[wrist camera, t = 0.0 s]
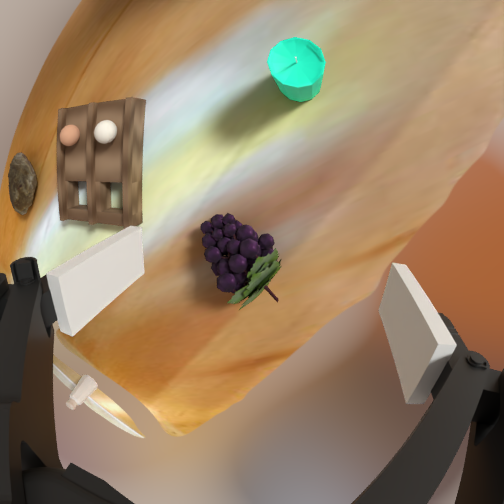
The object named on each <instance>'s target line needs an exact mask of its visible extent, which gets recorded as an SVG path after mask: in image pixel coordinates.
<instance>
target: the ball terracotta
mask: <svg viewBox="0 0 504 504" xmlns="http://www.w3.org/2000/svg"><path fill="white" fill-rule="evenodd" d="M79 137H80V131H79V129H78V127H77V126H75V125H67V126H65V127H64V128H63V129H62V130H61V132H60V141H61V143H62V144H64V145H65V146H72V145H74V144H75V143H76V142H77V141H78V140H79Z"/></svg>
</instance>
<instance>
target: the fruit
mask: <svg viewBox="0 0 504 504" xmlns="http://www.w3.org/2000/svg"><path fill="white" fill-rule="evenodd" d="M211 222H212V223H210V222H208V221H205V222H204V223H202V224H201V230H202V232H203V233H204V234H206V235H205V236H204V237H203V238H202V243H203V246H204V247H205V248H207V249H206V250H205V253H204V255H205V258H206V261H208V262H212V267H211V269H212V270H213V272H214V273H215V275H216V276H219V277H218V278H217V288H218V289H220V290H221V291H222V292H232V293H234V294H236V295H234V296H232V299H231V300H230V301H228V302H227V303H232V304H233V303H234V302H235V303H234V304H236V303H238V302H239V301H241V300H242V299H243V300H244V299H245V298H247V297H248V296H249V297H248V298H249V299H248V300H246V301H245V302H244V303H243V304H244V305H243V304H242V307H241V308H243V307H244V306H246V305H247V304H249V303H250V302H252V301H253V300H254V299H255V298H256V297H257V296H258V295H259V294H260V293H261V292H262V291H263V290H264V289H265V290H266V291H268V292H269V294H270V295H271V296H272V297H273V298H274V299H275V300H276V301H277V302H278V298H277V297H276V296H275V295H274V294H273V293H272V291H271V290H270V289H269V288H268V287H267V286H268V284H269V282H270V281H271V279H272V278H273V277H274V276H275V274H276V273H277V271H278V270H279V269H280V267H281V266H280V265H279V264H280V261H281V260H280V261H279V262H278V261H277V258H278V257H279V256H278V254H277V253H278V251H277V250H276V248H275V250H273V247H272V246H273V245H274V240H273V237H272V236H270V235H269V234H262V235H261V236H260V237H259V239H258V235H257V233H256V232H255V231H254V230H253V228H252V227H251V226H249V225H242V224H241V223H240V222H239V221H237V220H235V218H234V216H233V215H231V214H228V213H227V214H226V215H225V216H224V217H223V215H218V214H216V215H215V216H213V217H212V218H211ZM224 236H225V237H224ZM257 242H258V243H257ZM227 254H228V256H227ZM224 255H226V256H224ZM279 266H280V267H279ZM239 303H240V302H239ZM241 308H240V309H241ZM240 309H239V310H240Z"/></svg>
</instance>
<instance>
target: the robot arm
mask: <svg viewBox="0 0 504 504" xmlns="http://www.w3.org/2000/svg"><path fill="white" fill-rule="evenodd" d="M10 267H11V272H12V276H13V280H14V284H8V282H7V278H6V275H5V274H4V273H0V504H134V503H133V502H131V501H130V500H128V499H127V498H126V497H125V496H123V495H122V494H120V493H119V492H118V491H116V490H115V489H114V488H113V487H111V486H110V485H109V484H108V483H107V482H105V481H104V480H102V479H100V478H98V477H96V476H94V475H93V474H91V473H89V472H87V471H85V470H83V469H81V468H80V467H78V466H76V465H74V464H73V463H70V465H69V466H68V467H67V469H63V467H62V464H61V462H60V460H59V456H58V450H57V441H56V432H55V420H54V404H53V344H54V329H53V325H52V324H53V323H54V322H55V321H56V320H57V321H58V324H59V328H60V331H61V332H63V333H65V334H68V335H70V336H72V337H73V336H74V335H75V334H76V333H77V332H78V331H79V330H81V329H82V328H83V327H84V326H85V325H86V324H87V323H88V322H89V321H90V320H91V319H93V318H94V317H95V316H96V315H97V314H98V313H99V312H100V311H101V310H103V309H104V308H105V307H106V306H107V305H108V304H109V303H110V302H112V301H113V300H114V299H115V298H116V297H117V296H118V295H120V294H121V293H122V292H123V291H124V290H125V289H126V288H128V287H129V286H130V285H131V284H132V283H133V282H135V281H136V280H137V279H138V278H139V277H140V276H142V275H143V274H144V260H143V241H142V227H137V226H129V227H127V228H125V229H123V230H121V231H120V232H118V233H116V234H114V235H112V236H110V237H108V238H107V239H105V240H103V241H101V242H99V243H98V244H96V245H94V246H92V247H90V248H89V249H87V250H85V251H83V252H82V253H80V254H78V255H76V256H75V257H73V258H71V259H70V260H68V261H66V262H64V263H63V264H61V265H59V266H58V267H56V268H54V269H53V270H51V271H49V272H48V273H46V275H45V276H43V277H42V278H40V274H39V269H38V264H37V259H36V258H33V257H25V258H20V259H18V260H16V261H14V262H12V263H11V265H10ZM379 313H380V316H381V319H382V322H383V325H384V328H385V331H386V334H387V338H388V341H389V344H390V347H391V350H392V354H393V357H394V361H395V364H396V368H397V371H398V375H399V378H400V382H401V386H402V389H403V393H404V397H405V401H406V404H424V403H425V401H426V399H427V398H428V396H429V395H430V393H432V396H433V399H434V400H433V402H432V404H431V405H430V407H429V408H428V410H427V411H426V413H425V414H424V416H423V417H422V418H421V421H420V422H419V423H418V425H417V426H416V428H415V429H414V431H413V432H412V433H411V435H410V436H409V437H408V439H407V440H406V442H405V443H404V444H403V446H402V447H401V448H400V449H399V451H398V452H397V453H396V454H395V456H394V457H393V458H392V460H391V461H390V462H389V463H388V464H387V465H386V467H385V468H384V469H383V470H382V471H381V472H380V474H379V475H378V476H377V477H376V478H375V479H374V480H373V481H372V483H371V484H370V485H369V486H368V487H367V488H366V489H365V490H364V491H363V492H362V493H361V494H360V495H359V497H357V498H356V499H355V500H354V501H353V502H352V503H351V504H427V503H428V501H429V500H430V498H431V497H432V495H433V494H434V492H435V490H436V489H437V487H438V486H439V484H440V482H441V481H442V479H443V477H444V475H445V473H446V472H447V470H448V468H449V466H450V465H451V463H452V461H453V459H454V457H455V455H456V452H457V451H458V449H459V447H460V445H461V443H462V441H463V439H464V436H465V434H466V432H467V430H468V427H469V425H470V423H471V426H470V433H469V440H468V447H467V452H466V458H465V464H464V468H463V473H462V477H461V482H460V486H459V490H458V493H457V497H456V501H455V504H504V369H503V371H502V372H501V371H497V370H493V369H490V368H489V367H490V365H489V363H488V361H487V360H486V359H485V358H484V357H483V356H482V355H480V354H479V353H477V352H474V351H468V349H467V347H466V346H465V344H464V342H463V341H462V339H461V337H460V336H459V335H458V332H457V331H456V329H454V326H453V324H452V323H451V321H450V320H449V319H448V318H447V317H446V316H444V315H443V314H442V313H437V311H436V309H435V308H434V306H433V305H432V303H431V301H430V300H429V298H428V297H427V296H426V294H425V292H424V291H423V289H422V288H421V286H420V285H419V284H418V282H417V280H416V279H415V277H414V276H413V275H412V273H411V272H410V270H409V269H408V267H407V266H406V265H404V264H397V263H392V265H391V269H390V273H389V277H388V280H387V284H386V287H385V291H384V294H383V297H382V301H381V304H380V307H379Z"/></svg>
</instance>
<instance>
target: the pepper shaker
mask: <svg viewBox="0 0 504 504" xmlns="http://www.w3.org/2000/svg"><path fill="white" fill-rule="evenodd" d="M96 389H97V383H96V382H95V380H94V379H93V378H92V377H90V376H89V375H83V376H82V377H81V379H80V380H79V382H78V383H77V385H76V386H75V388H74V389H73V391H72V393H71V394H70V399H69V400H68V401H67V402H66V405H67V406H68V407H69V408H70V409H72V410H74V409H75V408H76V406H77V405H81V404H82V403H83V402H84V401H85V400H86V399H87V398H88V397H89V396H90V395H91V394H92V393H93V392H94V391H95V390H96Z"/></svg>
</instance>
